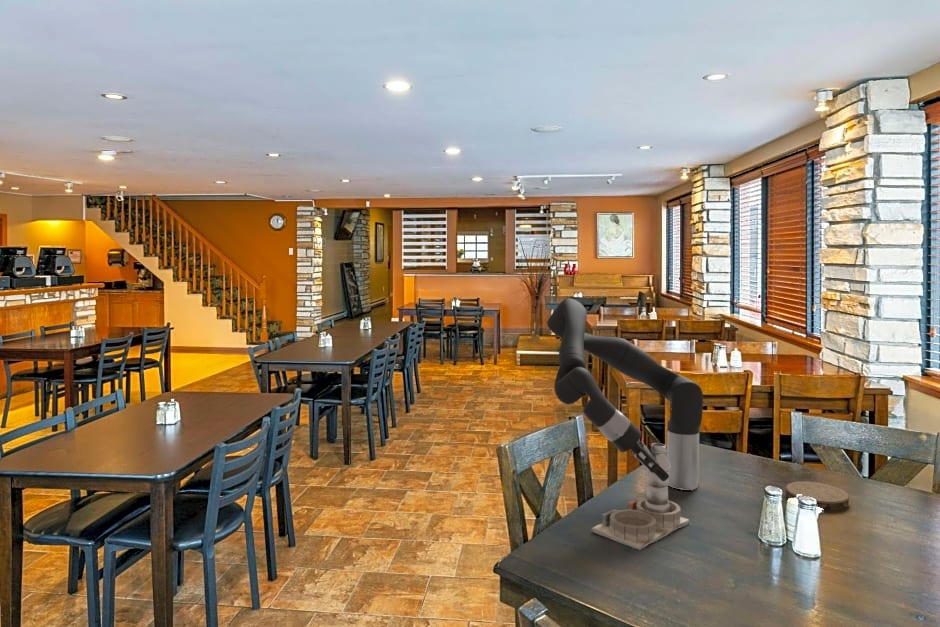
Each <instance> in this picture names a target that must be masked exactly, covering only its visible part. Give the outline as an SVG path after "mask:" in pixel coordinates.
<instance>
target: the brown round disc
mask: <svg viewBox="0 0 940 627" xmlns="http://www.w3.org/2000/svg"><path fill="white" fill-rule="evenodd" d="M797 494H802V495H804V496H809V497H813V498H815V499H816V500H817V504H818V507H820V508H823V509H824V511H823V512H838V511H844V510H845V509H848V507H849V501H850V500H849V499H850V498H849V497H850V496H849V494H848V492H846V491H845V490H844V489H841V488H839V487H836V486H833V485H830V484H826V483H822V482H816V481H793V482H792V481H791V482H790V483H787V485H785V498H786V497H787V498H791V497H795V496H796V495H797ZM787 498H786V499H787Z"/></svg>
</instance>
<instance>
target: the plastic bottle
mask: <svg viewBox="0 0 940 627" xmlns="http://www.w3.org/2000/svg"><path fill="white" fill-rule="evenodd" d="M650 445H651V447H650V452H651V454H652V455H653V456H654V460H655V461H656V462H657V463H658V464H659V465H660V467H661V468H662V469H663V470H664V471H665V472H666V473H667V474H668V475H670V469H671V465H670V462H669V460H668V458H667V445H666V444H665V443H661V442H653V443H651V444H650ZM653 465H654V463H653V462H650V463H649V466H650V467H652V466H653ZM645 471H646V483H647V484H646V488H647V489H646V497H645V499H646V502H645V510H648V511H651V512H656V513H670V506H669V501H670V500H669V487H668V482H669V478H668V479H667V480H665V481H662V480H661V479H660V478H659V477H658V476H657V475H656V474H655V473H654V472H653V473H652V472H650V470H649V469H648V468H647V467H646V466H645ZM668 500H669V501H668Z"/></svg>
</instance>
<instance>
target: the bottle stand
mask: <svg viewBox="0 0 940 627" xmlns="http://www.w3.org/2000/svg"><path fill="white" fill-rule="evenodd" d="M668 501H669V506H670V513H656V512H651V511H648V510H645V502H646V498H642V497H638V498H636V499H633V500H631V501H628V507H627V508H628V509H616V508H612V509H610V510H609V511H606V512H604V513H602V514H601V520H602V521H601V523H600V524H597V525H595V526H593V527H592V528H591V530H592V529H593V530H595V531H598V532H601V533H604V534H606V535H608V536H611V537H614V538H616V539H619V540H621V541H624V542H625V543H627V544H630V545H632V546H634V547H637V548H640V547H642V546H644V545H645V544H647V543H649V542H651V541H653V540H655V539H657V538H659V537H661V536H663V535H665V534H666V533H668V532H670V531H672V530H674V529H676V528H678V527H679V526H682V525H683V524H685V523H687V522H689V523H690V519H688V518H686V517H683V516H681V505H679V504H677V503H676V502H674V501H672V500H669V499H668Z"/></svg>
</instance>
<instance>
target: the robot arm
mask: <svg viewBox="0 0 940 627" xmlns="http://www.w3.org/2000/svg"><path fill="white" fill-rule="evenodd" d="M587 319H588V314H587V309H586V307H584V305H583V304H582V303H581V302H580V301H578V300H576V299H574V298H570V297H569V298H564V299H563V300H562V301H560V303H558V305H557V306H556V308H555V309H554V310H553V312H552V313H551V315H549V317H548V319H547V320H546V324H547V327H548V329H549V330H550V332H552V333H553V334H554V335H556V336H558V337H559V338H561V342H560V345H559V351H558V363H559V368H558V369H557V373H556V377H555V381H554V386H553V387H554V393H555V395H556V397H557V399H558V400H559V401H560V403H562V404H565V405H572V404H575V403H576V402H578V401H579V400H580V399H582V398H583V397H584V396H586V395H588V398H589V400H588V401H587V402H586V404H585V405H584V408H583V414H584V416H585V417H586V418H587V419H588V420H589V421H590V422H591V423H592V424H593V425H594V426H595V427H597V429H598V430H599V431H600V432H601V434H602V435H603V436H604V437H605V438H606V439H607V440H608V441H609V442H610V443H611V444H612V445H613V446H614V447H615V448H616V449H617V450H618V451H619V452H620V453H625V452H628V451H629V450H630V452H631V455H632V456H633V457H634V458H636V459H637V460H638V461H639V462H640V463H641V465H643V466H644V467H645V468H646V467H647V468H648V469H649V470H650V472H652V473H653V472H654V473H655V474H656V475H657V476H658V477H659V478H660V479H661V480H662V481H665V480H667V479H668V478H669V482H668V484H669V485H671V486H673V487H676V488H683V489H694V488H697V487H698V488H699V485H698V483H699V484H700V429H701V428H700V427H701V424H702V422H703V410H704V395H703V389H702V388H701V386H700V385H699V384H698V383H697V382H695V381H694V380H691V379H689V378H688V377H685V376H683V375H680V374H678V373H676V372H674V371H672V370H671V369H668V368H666V367H664V366H663V365H661V364H660V363H658V362H657V361H656V360H655V359H654V358H653V357H651V355H649V354H648V353H646V351H644V350H643V349H641V348H640V347H639V346H637V345H635V344H633V343H632V342H631V341H629V340H627V339H625V338H623V337H618V336H600V335H592V334H590V333H587V332H586V324H587ZM585 351H586V352H587V353H590V354H591V355H593V356H594V357H596V358H597V359H600V360H601V361H602V362H604V363H606V364H607V365H608V366H610V367H612V368H613V369H614V370H617V372H620V373H621V374H623V375H625V376H627V377H629V378H631V379H633V380H635V381H637V382H640V383H643V384H645V385H647V386H649V387H650V388H652V389H653V390H654V391H656V392H657V393H659V394H660V395H662V397H664V398H665V399H666V400H667V401H668V402H669V403H671V412H670V413H671V414H670V415H671V416H670V419H669V420H668V421H667V432H666V433H667V435H666V438H667V439H666V442H667V445H666V457H667V458H668V460H669V462H670V465H671V469H670V475H668V474H667V473H666V472H665V471H664V470H663V469H662V468H661V467H660V465H659V464H658V463H657V462H656V461H655V460H654V456H653V455H652V452H651V451H650V449H649V448H648V447H647V446H646V444H645V443H644V442H643V441H642V440H641V437H642V431H641V429H639V428H638V427H637V426H636V425H635V424H634V423H633V422H632V421H631V420H630V419H629V418H628V417H627V416H626V415H625V414H624V413H622V412H621V411H620V410H619V409H617V407H616V406H614V405H613V404H612V402H610V400H609V399H607V397H606V396H605V395H604V393H603V392H602V390H601V388H600V387H599V386H598V384H597V382H596V380H595V378H594V376H593V374H592V373H591V372H590V371H589V370H588V369H586V365H587V364H586V357H585ZM640 440H641V441H640ZM650 462H653V463H654V465H653V466H652V467H650V466H649V463H650ZM698 488H697V489H698Z"/></svg>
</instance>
